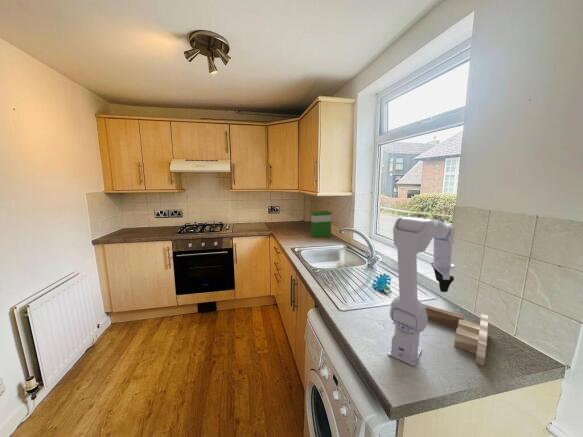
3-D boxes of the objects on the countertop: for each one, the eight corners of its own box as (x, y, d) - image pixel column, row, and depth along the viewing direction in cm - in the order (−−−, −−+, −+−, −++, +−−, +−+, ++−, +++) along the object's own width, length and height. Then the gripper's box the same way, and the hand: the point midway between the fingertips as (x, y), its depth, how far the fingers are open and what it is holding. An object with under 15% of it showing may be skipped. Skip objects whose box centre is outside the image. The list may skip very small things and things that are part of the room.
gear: (368, 282, 129) (382, 269, 128) (375, 288, 131) (389, 275, 130) (378, 294, 119) (394, 280, 118) (385, 301, 121) (401, 287, 120)
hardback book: (327, 234, 243) (327, 210, 239) (330, 236, 236) (331, 211, 232) (310, 236, 238) (311, 211, 234) (313, 238, 231) (314, 212, 227)
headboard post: (483, 366, 74) (486, 345, 73) (452, 354, 79) (454, 334, 78) (485, 333, 89) (488, 315, 88) (459, 325, 94) (461, 308, 93)
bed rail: (461, 331, 91) (463, 318, 90) (419, 317, 100) (420, 306, 99) (462, 327, 93) (463, 315, 92) (421, 314, 102) (422, 303, 101)
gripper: (460, 264, 84) (458, 297, 88) (449, 246, 97) (448, 276, 101) (436, 263, 87) (436, 296, 91) (429, 246, 100) (429, 275, 104)
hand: (441, 285), depth 96 cm, fingers open, 7 cm apart
